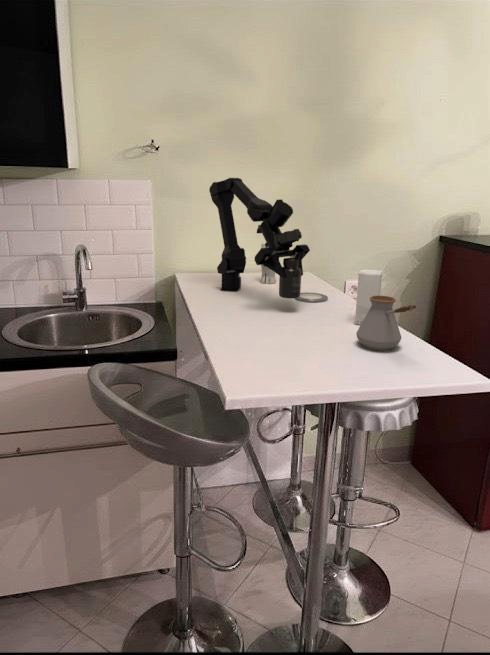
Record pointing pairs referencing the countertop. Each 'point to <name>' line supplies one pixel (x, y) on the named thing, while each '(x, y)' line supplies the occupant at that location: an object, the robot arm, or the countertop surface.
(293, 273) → the supplement bottle
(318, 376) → the countertop surface
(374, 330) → the coffee pot
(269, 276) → the beer glass
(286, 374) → the countertop surface
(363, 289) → the skincare box
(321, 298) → the coaster
